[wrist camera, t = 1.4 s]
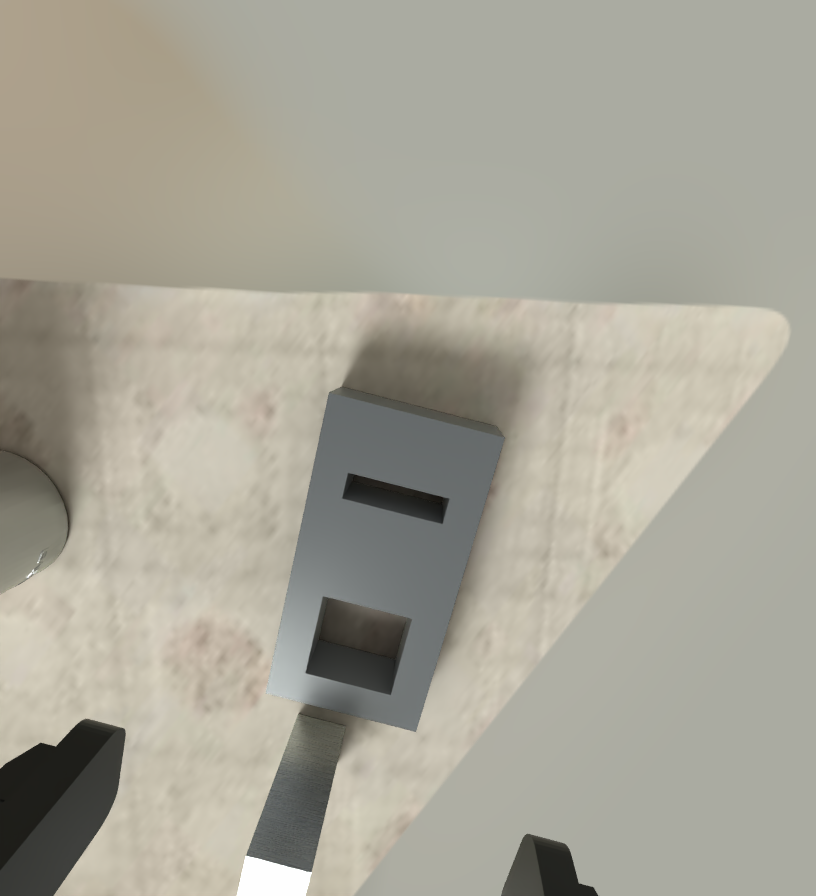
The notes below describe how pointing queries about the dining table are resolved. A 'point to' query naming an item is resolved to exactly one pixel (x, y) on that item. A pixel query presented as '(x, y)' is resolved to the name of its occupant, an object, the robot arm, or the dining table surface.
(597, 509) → the dining table surface
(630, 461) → the dining table surface
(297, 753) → the grey square peg
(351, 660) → the holder
